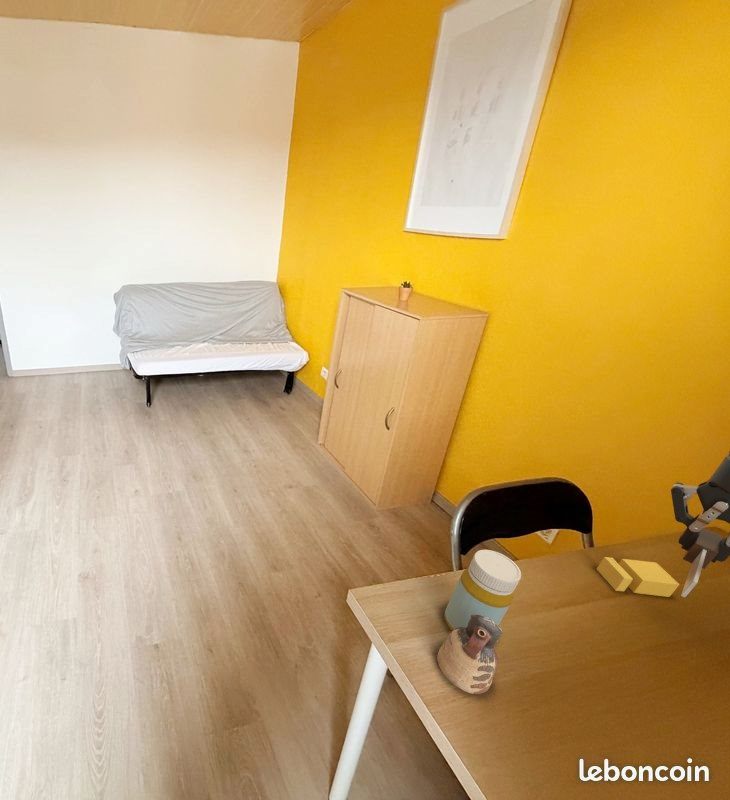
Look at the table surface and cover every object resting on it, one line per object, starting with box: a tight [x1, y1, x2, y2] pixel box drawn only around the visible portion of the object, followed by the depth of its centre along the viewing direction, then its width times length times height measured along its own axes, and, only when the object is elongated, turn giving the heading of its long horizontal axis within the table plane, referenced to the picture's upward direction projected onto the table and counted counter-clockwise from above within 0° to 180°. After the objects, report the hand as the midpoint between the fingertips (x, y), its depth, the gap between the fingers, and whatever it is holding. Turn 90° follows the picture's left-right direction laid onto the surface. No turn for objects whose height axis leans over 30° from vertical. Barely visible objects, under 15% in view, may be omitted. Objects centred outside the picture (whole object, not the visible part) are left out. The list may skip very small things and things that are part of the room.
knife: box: [680, 527, 723, 598], centre depth 63 cm, size 16×2×4 cm, turn 127°
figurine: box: [436, 614, 504, 695], centre depth 61 cm, size 7×7×12 cm
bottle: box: [443, 549, 522, 632], centre depth 67 cm, size 7×7×15 cm
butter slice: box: [596, 556, 633, 592], centre depth 78 cm, size 2×5×4 cm, turn 172°
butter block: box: [618, 558, 680, 598], centre depth 78 cm, size 6×5×4 cm
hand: (697, 552), depth 67 cm, fingers closed on knife, 2 cm apart
